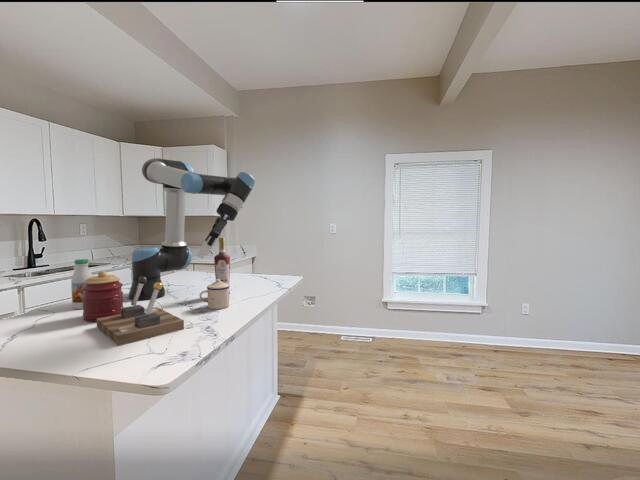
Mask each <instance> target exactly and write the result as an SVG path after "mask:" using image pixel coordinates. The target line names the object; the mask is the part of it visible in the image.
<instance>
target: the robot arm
mask: <svg viewBox="0 0 640 480" xmlns="http://www.w3.org/2000/svg"><path fill="white" fill-rule="evenodd" d="M141 175H142V176H143V177H144V179H145V180H147V181H148V182H150V183H153V184H158V185H162V189H163V190H164V191H165V192H166V196H165V199H166V201H165V202H166V203H165V235H164V239H165V240H164V241H162V243H161V247H160V246H159V245H149V246H142V247H141V246H140V247H138V248H136V249H134V250H133V251H132V252H131V269H132V270H131V272H132V283H131V286H130V289H129V292H128V298H129V300H133V298H134V295H135V292H136V290H137V287H138V284H139V282H138V279H139V278H140V277H142V276H144V277H146V278H147V282H146V283H145V284H144V285H143V287H142V290H141V292H140V295H139V298H138V300H137V301H145V300H150V299H151V297H152V294H153V291H154V288H153V285H154V284H155V283H156V282H160V283H162V285H163V282H162V280H161V278H162V277H161V273H166V272H172V271H180V270H185V269H187V268H188V267H189V266H190V264H191V262H192V258H193V253H192V252H191V251H192V250H191V249H190V247H189V246H188V243H187V242H186V241H185V223H186V222H185V221H186V218H185V217H186V216H185V215H186V213H185V212H186V193H187V194H192V195H194V194H195V195H198V194H201V195H212V196H213V195H215V196H223V198H222V200H221V203H220V204H219V205H218V207H217V208H216V213H217V215H219V216H220V217H219V216H217V218H216V219H215V221H214V223H213V225H212V229H211V230H210V231H209V233H208V235H207V236H206V238H205V240H204V242H203V243H202V245H201V246H200V248H199V250H198V252H197V253H196V256H197V257H199V258H201V259H203V258H204V257H205V256H208V255H209V254H210V253H211V250H212V249H213V247H214V245H215V243H216V241H217V240H218V239H219V238H220V236H221V233H222V232H223V230H224V229H225V227H226V226H227V224H228V221H231V222H232V221H235V220H236V218H237V216H238V212H240V211H241V209H243V208H244V203H245V202H246V200H247V198H248V197H249V196H250V194H251V192H252V190H253V188H254V186H255V184H256V179H255V178H254V177H253V175H251V174H250V173H248V172H246V171H240V172H238V174H237V175H236V177H230V176H228V177H227V176H220V175H219V176H218V175H211V174H209V175H208V174H201V173H196V172H194V169H193V167H192V166H191V164H189V163H188V162H185V161H180V160H173V159H172V160H171V159H165V158H159V157H158V158H156V157H155V158H151V159H148V160H147V161H145V162H144V163H143V164H142V168H141ZM165 295H166V289H165V287H164V285H163V287H162V289H161V290H159V292H158V295H157V298H156V299H158V298H159V299H160V298H162V297H165Z"/></svg>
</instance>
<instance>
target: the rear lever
mask: <svg viewBox="0 0 640 480" xmlns="http://www.w3.org/2000/svg"><path fill="white" fill-rule="evenodd" d="M138 282H139V284H138V287H137V290H136V292H135V295H134V298H133V300H132V299H131V300H132V301H131V304H130V306H136V305H137V303H138V301H139V300H138V298H139V295H140V292H141V290H142V287H143V285H144V284H145V283H146V282H147V278H146V277H144V276H142V277H140V278H139V279H138Z"/></svg>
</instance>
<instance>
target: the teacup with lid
mask: <svg viewBox="0 0 640 480" xmlns="http://www.w3.org/2000/svg"><path fill="white" fill-rule="evenodd" d="M206 289H207V290H203V291H201V292H200V293H199V298H200V301H201V302H203V303H207V308H208V309H210V310H223V309H227V308H229V306H230V294H229V292H230V284H229V285H228V284H226V283H224V282H221V280H220V279H217V280H216V279H215V281H214V282H212V283H211V284H208V285H207V287H206ZM204 293H207V299H206V300H204V299H203V297H202V295H203V294H204Z"/></svg>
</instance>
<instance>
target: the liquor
mask: <svg viewBox="0 0 640 480" xmlns="http://www.w3.org/2000/svg"><path fill="white" fill-rule="evenodd" d="M225 242H226V238H225V237H218V244H219V247H218V248H219V249H218V254H216V255H215V256H214V257H213V258H214V259H213V260H214V261H213V262H214V275H215V281H216V280H217V279H220V280H221V282H224V283H226V284H228V285H229V286H230V273H231V271H230V269H231V256H230V255H229V254H227V253H226V245H225ZM230 294H231V292H230V291H229V295H230Z"/></svg>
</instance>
